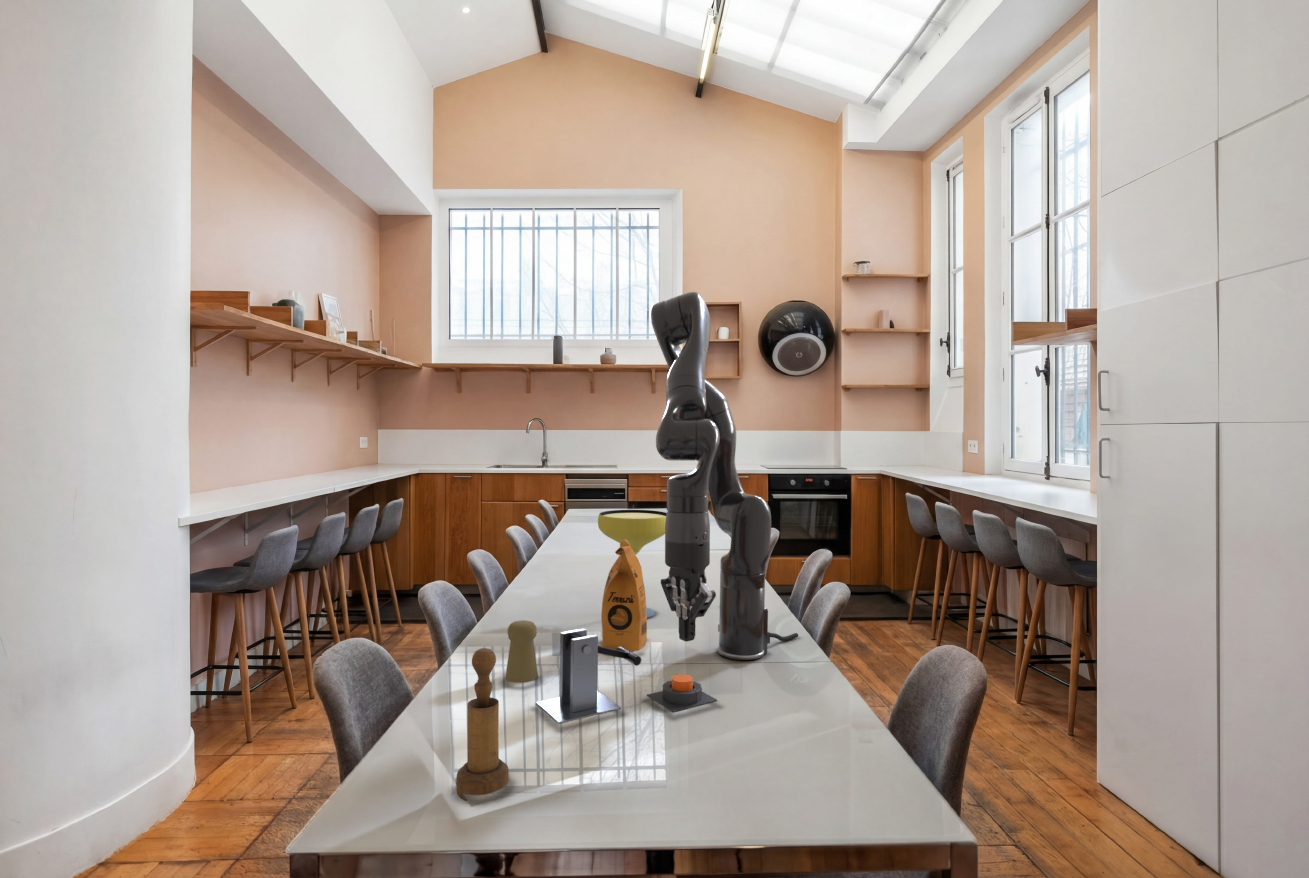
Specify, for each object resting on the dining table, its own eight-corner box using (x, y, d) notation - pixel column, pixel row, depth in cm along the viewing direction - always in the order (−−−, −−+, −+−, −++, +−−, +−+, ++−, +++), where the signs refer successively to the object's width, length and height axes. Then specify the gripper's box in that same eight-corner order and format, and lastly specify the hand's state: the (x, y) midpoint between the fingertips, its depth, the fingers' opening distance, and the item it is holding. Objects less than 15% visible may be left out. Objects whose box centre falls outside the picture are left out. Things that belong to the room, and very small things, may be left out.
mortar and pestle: (462, 775, 91) (463, 641, 91) (511, 774, 92) (513, 640, 91) (451, 803, 85) (452, 658, 84) (504, 801, 85) (506, 657, 85)
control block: (689, 690, 122) (689, 674, 122) (717, 706, 115) (717, 689, 115) (646, 701, 117) (646, 683, 117) (673, 718, 110) (673, 699, 110)
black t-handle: (621, 658, 120) (625, 644, 120) (639, 668, 115) (643, 654, 115) (561, 645, 113) (566, 631, 114) (577, 656, 108) (582, 641, 109)
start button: (684, 682, 118) (684, 672, 118) (696, 689, 115) (697, 679, 115) (667, 686, 116) (667, 676, 116) (679, 694, 113) (679, 683, 113)
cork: (530, 689, 121) (531, 627, 121) (499, 686, 122) (499, 625, 122) (543, 677, 127) (544, 618, 127) (512, 674, 128) (513, 616, 128)
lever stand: (595, 695, 119) (596, 622, 119) (620, 714, 111) (622, 636, 111) (535, 709, 113) (536, 631, 113) (558, 730, 105) (559, 647, 105)
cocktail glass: (605, 602, 181) (606, 508, 181) (672, 606, 179) (674, 510, 179) (589, 621, 164) (590, 517, 163) (664, 625, 161) (665, 519, 161)
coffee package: (594, 655, 140) (596, 547, 139) (605, 636, 152) (606, 538, 152) (642, 657, 139) (644, 549, 138) (649, 638, 151) (651, 539, 151)
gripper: (647, 534, 119) (646, 633, 119) (693, 545, 108) (693, 655, 108) (682, 530, 123) (681, 626, 123) (730, 540, 112) (729, 646, 112)
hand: (687, 639), depth 116 cm, fingers closed
